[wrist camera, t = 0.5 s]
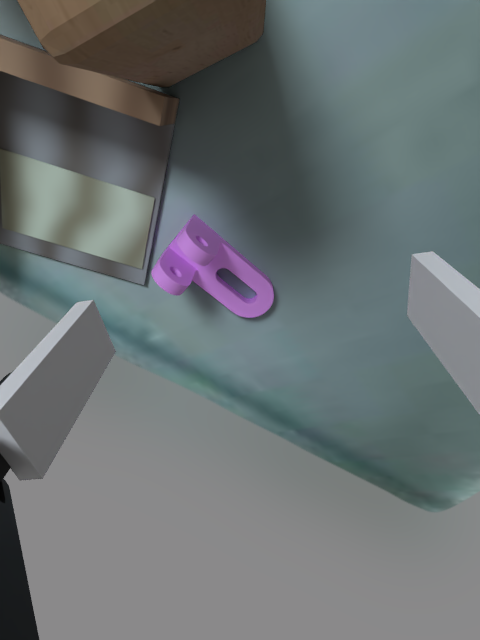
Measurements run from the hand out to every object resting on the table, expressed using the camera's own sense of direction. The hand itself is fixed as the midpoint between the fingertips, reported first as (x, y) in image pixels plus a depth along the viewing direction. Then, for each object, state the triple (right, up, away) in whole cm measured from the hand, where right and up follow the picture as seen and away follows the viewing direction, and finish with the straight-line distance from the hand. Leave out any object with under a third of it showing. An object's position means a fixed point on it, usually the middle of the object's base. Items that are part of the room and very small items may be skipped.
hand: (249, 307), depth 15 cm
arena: (-18, +14, +20) cm, 30 cm away
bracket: (-2, +5, +25) cm, 26 cm away
